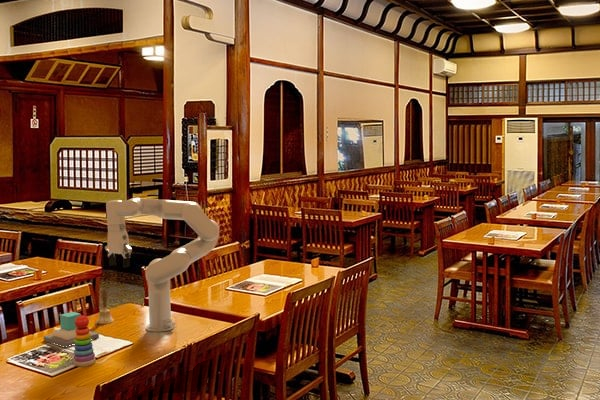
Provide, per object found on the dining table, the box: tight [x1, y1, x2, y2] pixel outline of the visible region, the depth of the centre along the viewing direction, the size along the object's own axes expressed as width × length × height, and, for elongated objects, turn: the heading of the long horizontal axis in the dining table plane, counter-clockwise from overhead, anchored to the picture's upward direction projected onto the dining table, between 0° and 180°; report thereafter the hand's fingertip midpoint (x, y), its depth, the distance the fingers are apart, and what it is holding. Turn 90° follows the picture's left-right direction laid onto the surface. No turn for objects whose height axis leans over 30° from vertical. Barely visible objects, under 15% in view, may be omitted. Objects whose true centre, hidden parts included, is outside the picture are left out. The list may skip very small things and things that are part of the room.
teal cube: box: [59, 311, 82, 331], centre depth 261 cm, size 6×6×6 cm
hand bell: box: [95, 287, 115, 325], centre depth 288 cm, size 8×8×16 cm
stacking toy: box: [72, 314, 97, 367], centre depth 232 cm, size 8×8×19 cm
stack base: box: [43, 326, 100, 347], centre depth 262 cm, size 16×16×5 cm
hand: (119, 266), depth 272 cm, fingers open, 9 cm apart
